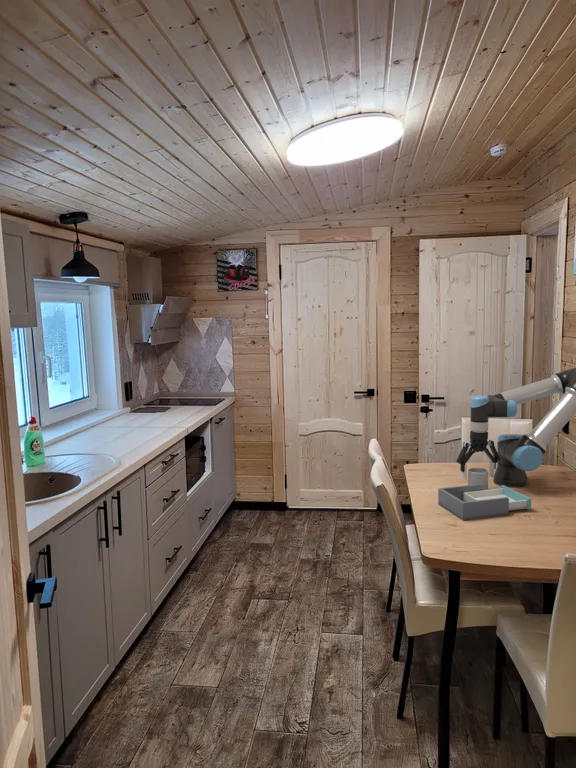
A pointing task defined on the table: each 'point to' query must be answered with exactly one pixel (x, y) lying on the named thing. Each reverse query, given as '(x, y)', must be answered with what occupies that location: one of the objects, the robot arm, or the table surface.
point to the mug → (478, 477)
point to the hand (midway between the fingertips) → (478, 477)
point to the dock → (471, 503)
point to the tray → (514, 497)
